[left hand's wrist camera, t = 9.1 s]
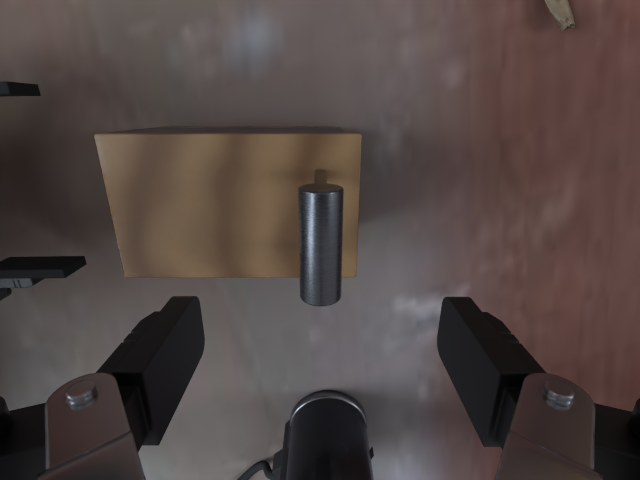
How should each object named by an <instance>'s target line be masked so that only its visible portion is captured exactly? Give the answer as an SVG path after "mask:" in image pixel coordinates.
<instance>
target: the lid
mask: <svg viewBox="0 0 640 480" xmlns="http://www.w3.org/2000/svg"><path fill="white" fill-rule="evenodd" d="M94 137H95V142H96V146H97V151H98V156H99V160H100V165H101V169H102V174H103V179H104V183H105V188H106V192H107V197H108V202H109V206H110V211H111V215H112V220H113V225H114V229H115V234H116V238H117V243H118V248H119V252H120V257H121V261H122V266H123V271H124V275H125V277H300V297H301V299H302V300H303V301H304V302H305V303H307V304H310V305H314V306H328V305H332V304H334V303H336V302H338V301H339V300H340V298H341V279H342V277H356V269H357V244H358V219H359V195H360V170H361V145H362V134H360V133H97V134H94Z"/></svg>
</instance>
